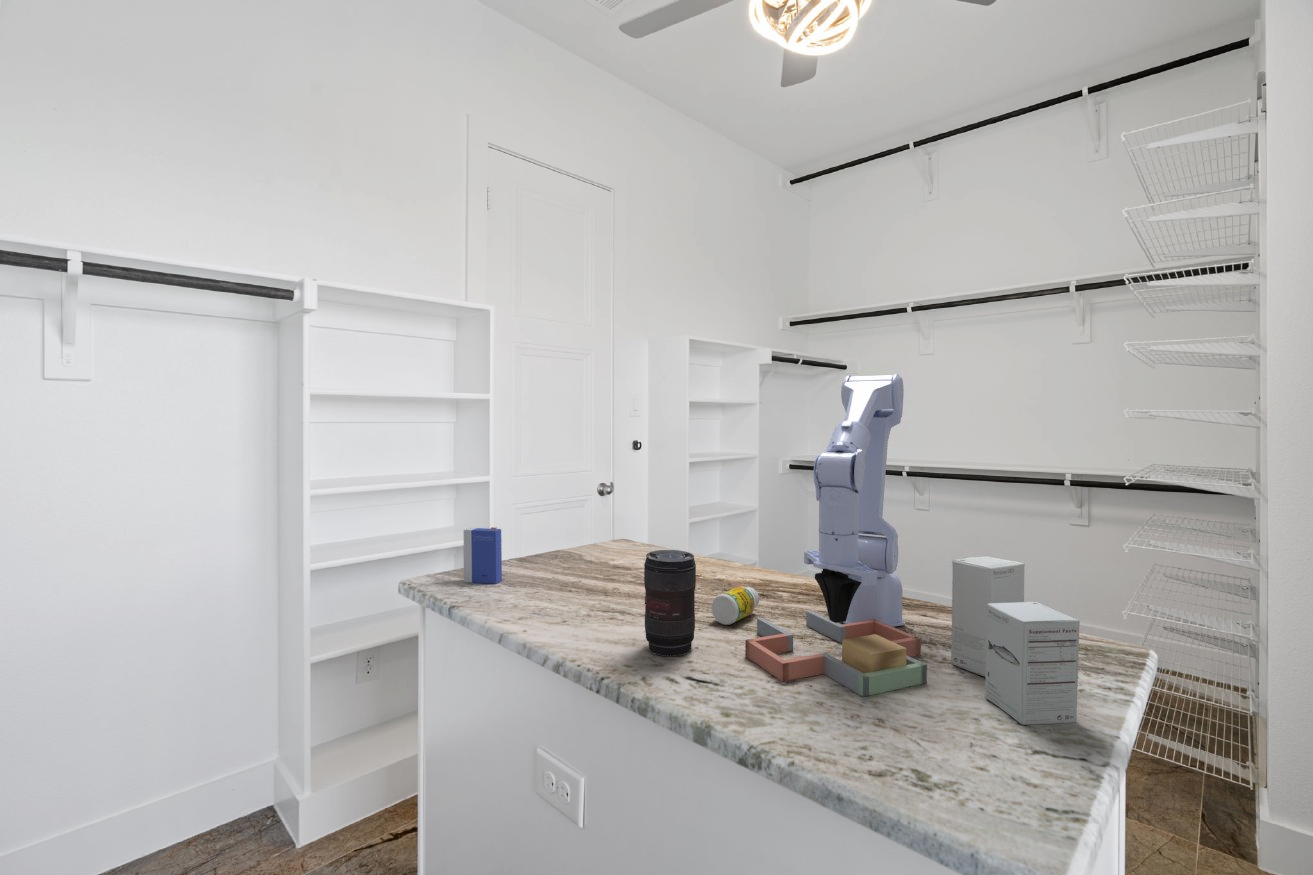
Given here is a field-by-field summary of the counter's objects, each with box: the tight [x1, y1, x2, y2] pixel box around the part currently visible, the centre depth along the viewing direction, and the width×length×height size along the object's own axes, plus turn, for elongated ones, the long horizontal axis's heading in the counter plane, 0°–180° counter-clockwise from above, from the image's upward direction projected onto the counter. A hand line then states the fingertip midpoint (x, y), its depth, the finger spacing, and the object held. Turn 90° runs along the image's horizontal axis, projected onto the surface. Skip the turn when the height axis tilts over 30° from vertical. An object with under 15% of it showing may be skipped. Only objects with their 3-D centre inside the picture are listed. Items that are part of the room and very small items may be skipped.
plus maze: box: [744, 610, 928, 697], centre depth 96 cm, size 25×26×2 cm
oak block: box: [841, 634, 906, 674], centre depth 88 cm, size 6×6×5 cm
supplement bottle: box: [710, 586, 760, 626], centre depth 114 cm, size 5×5×10 cm
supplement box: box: [984, 601, 1080, 726], centre depth 78 cm, size 7×7×13 cm
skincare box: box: [950, 555, 1025, 678], centre depth 92 cm, size 8×7×16 cm
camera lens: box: [643, 549, 697, 657], centre depth 98 cm, size 8×8×15 cm
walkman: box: [463, 526, 503, 585], centre depth 139 cm, size 8×3×12 cm, turn 78°
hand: (837, 620), depth 95 cm, fingers closed
